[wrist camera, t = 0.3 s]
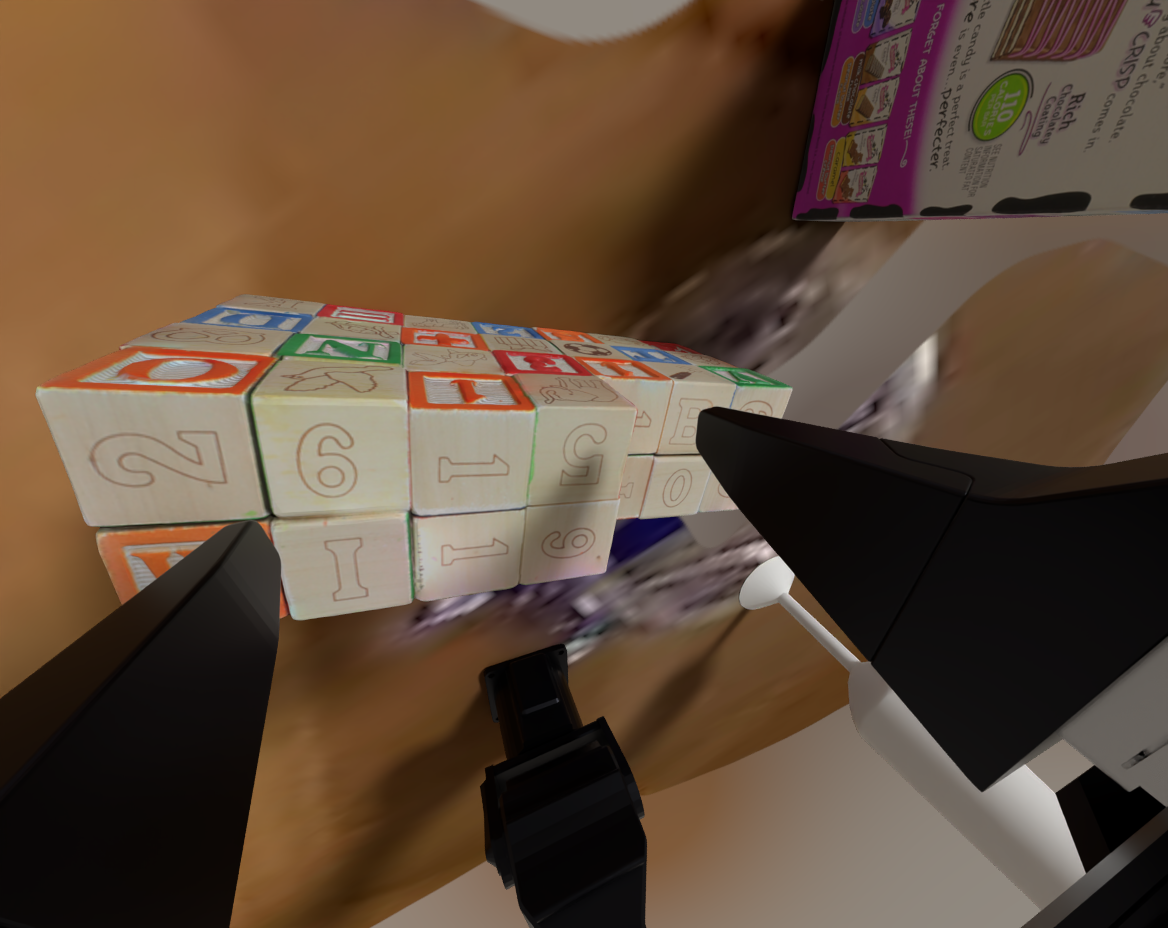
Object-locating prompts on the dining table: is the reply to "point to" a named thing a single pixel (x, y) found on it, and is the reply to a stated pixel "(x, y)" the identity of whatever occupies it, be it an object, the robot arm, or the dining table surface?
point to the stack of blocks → (386, 447)
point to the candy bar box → (989, 111)
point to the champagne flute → (944, 766)
